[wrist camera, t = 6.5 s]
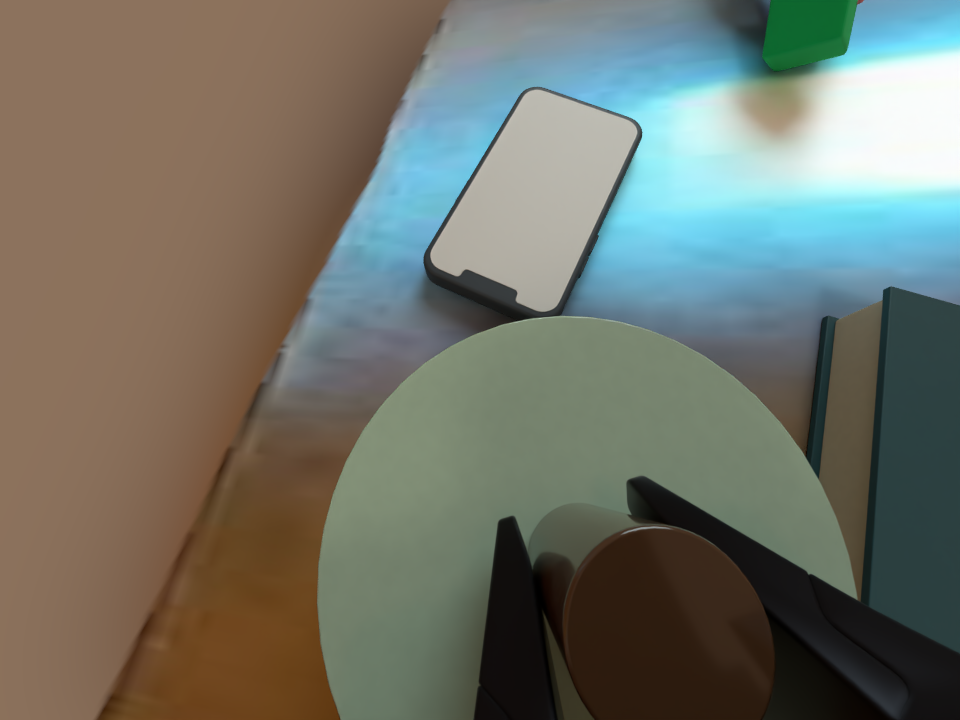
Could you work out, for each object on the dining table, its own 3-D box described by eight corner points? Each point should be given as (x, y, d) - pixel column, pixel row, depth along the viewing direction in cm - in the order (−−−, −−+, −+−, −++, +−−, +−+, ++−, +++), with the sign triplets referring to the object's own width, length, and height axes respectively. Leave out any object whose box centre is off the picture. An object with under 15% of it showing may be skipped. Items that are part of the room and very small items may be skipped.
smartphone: (523, 101, 28) (417, 279, 24) (525, 79, 26) (412, 265, 22) (641, 142, 27) (551, 338, 22) (650, 122, 25) (556, 328, 21)
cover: (926, 759, 10) (1637, 1216, 4) (390, 963, 9) (185, 1989, 3) (690, 284, 13) (850, 132, 8) (300, 393, 13) (134, 319, 7)
